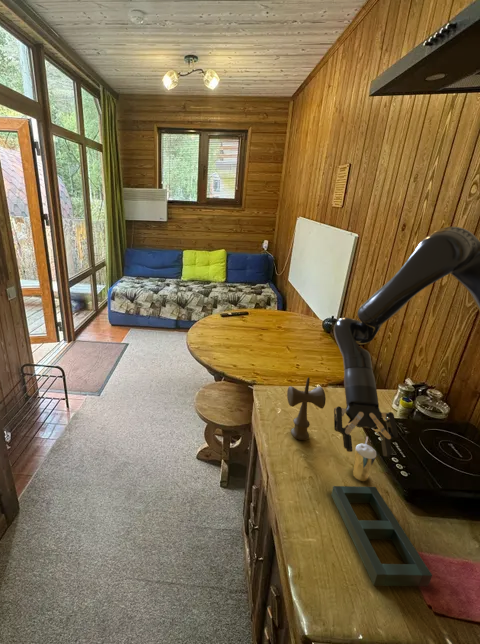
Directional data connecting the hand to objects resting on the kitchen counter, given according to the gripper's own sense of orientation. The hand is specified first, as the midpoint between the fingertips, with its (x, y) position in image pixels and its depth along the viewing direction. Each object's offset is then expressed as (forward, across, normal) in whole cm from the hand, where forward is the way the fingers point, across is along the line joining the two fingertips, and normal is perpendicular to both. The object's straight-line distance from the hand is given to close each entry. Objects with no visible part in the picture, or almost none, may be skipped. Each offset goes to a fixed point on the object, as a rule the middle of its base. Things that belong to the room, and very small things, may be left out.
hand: (368, 453), depth 75 cm
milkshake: (+5, 0, +7) cm, 8 cm away
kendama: (-4, -13, +15) cm, 20 cm away
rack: (+16, -3, -4) cm, 17 cm away
